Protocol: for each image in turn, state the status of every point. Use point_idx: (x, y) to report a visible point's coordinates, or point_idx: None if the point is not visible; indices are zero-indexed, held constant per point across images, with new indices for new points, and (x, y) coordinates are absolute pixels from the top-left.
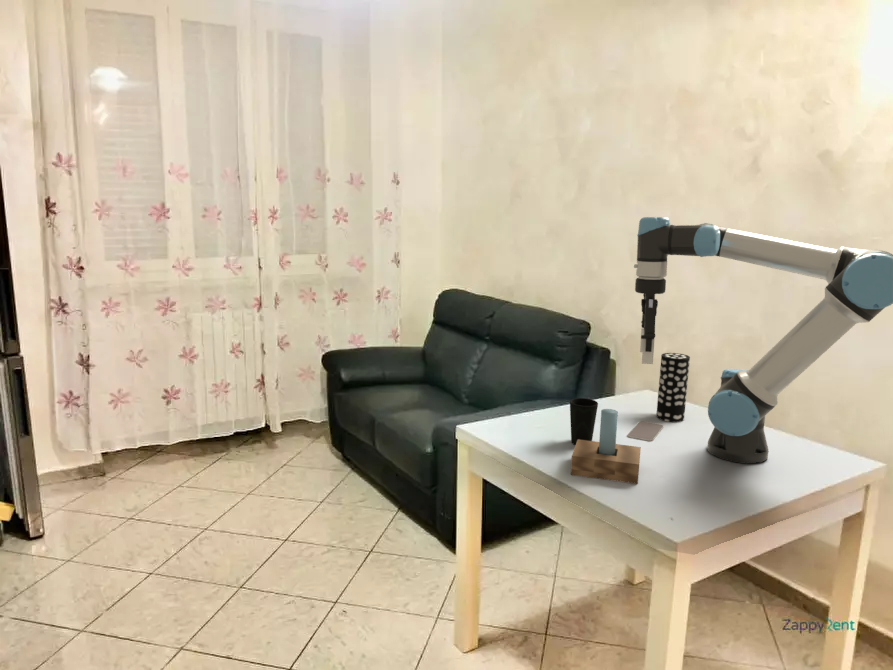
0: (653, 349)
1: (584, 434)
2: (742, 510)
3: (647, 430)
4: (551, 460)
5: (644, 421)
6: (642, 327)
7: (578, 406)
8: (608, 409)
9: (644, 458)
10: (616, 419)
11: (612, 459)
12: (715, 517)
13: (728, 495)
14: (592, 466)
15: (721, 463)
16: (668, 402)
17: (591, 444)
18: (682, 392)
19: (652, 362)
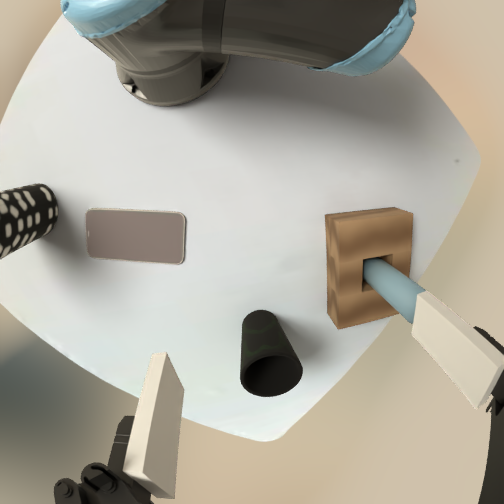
0: (471, 328)
1: (282, 329)
2: (410, 72)
3: (131, 233)
4: (349, 336)
5: (87, 248)
6: (149, 500)
7: (301, 375)
8: (409, 314)
9: (286, 210)
10: (419, 286)
11: (405, 256)
12: (439, 109)
13: (377, 78)
14: None
15: (244, 75)
16: (35, 219)
17: (355, 303)
18: (11, 196)
19: (432, 296)
